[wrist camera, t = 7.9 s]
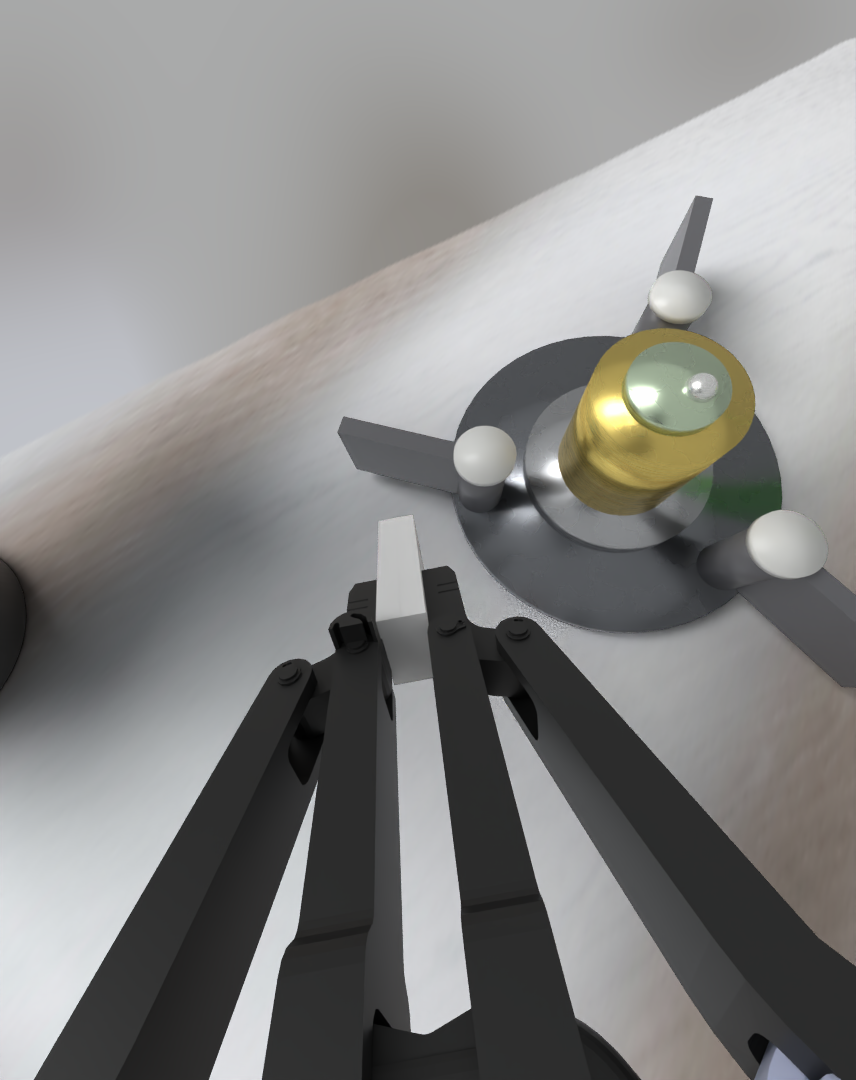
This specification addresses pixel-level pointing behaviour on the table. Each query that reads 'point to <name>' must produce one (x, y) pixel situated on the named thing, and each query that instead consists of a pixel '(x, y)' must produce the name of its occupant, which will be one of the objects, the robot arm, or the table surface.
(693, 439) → the tribrach
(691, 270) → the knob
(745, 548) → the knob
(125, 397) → the table surface
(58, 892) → the table surface
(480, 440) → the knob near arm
